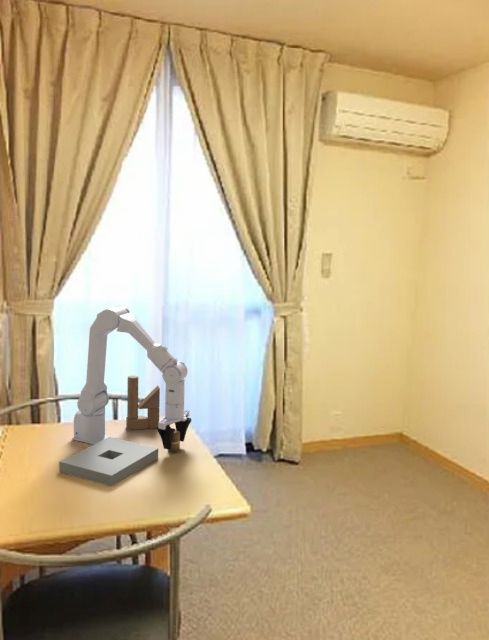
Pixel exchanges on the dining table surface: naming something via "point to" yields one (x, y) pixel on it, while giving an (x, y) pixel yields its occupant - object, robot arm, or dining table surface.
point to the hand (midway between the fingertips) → (174, 444)
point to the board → (108, 461)
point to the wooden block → (141, 407)
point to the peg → (175, 442)
